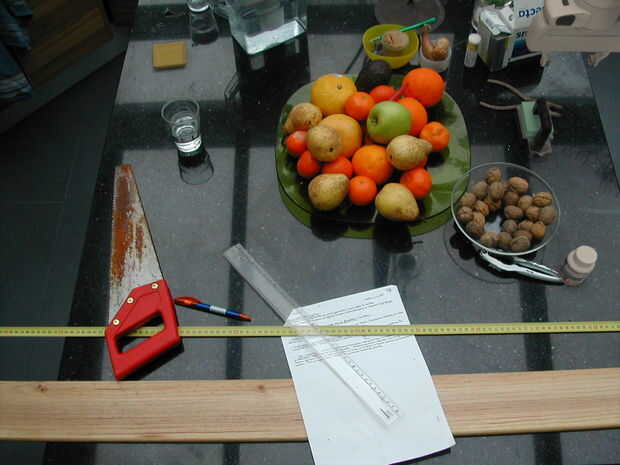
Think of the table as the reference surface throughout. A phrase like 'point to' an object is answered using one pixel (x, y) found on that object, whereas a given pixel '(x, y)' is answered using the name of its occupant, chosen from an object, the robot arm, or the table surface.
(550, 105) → the pliers
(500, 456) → the table surface
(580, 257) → the pill bottle
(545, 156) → the iron
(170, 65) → the yellow kitchen sponge
